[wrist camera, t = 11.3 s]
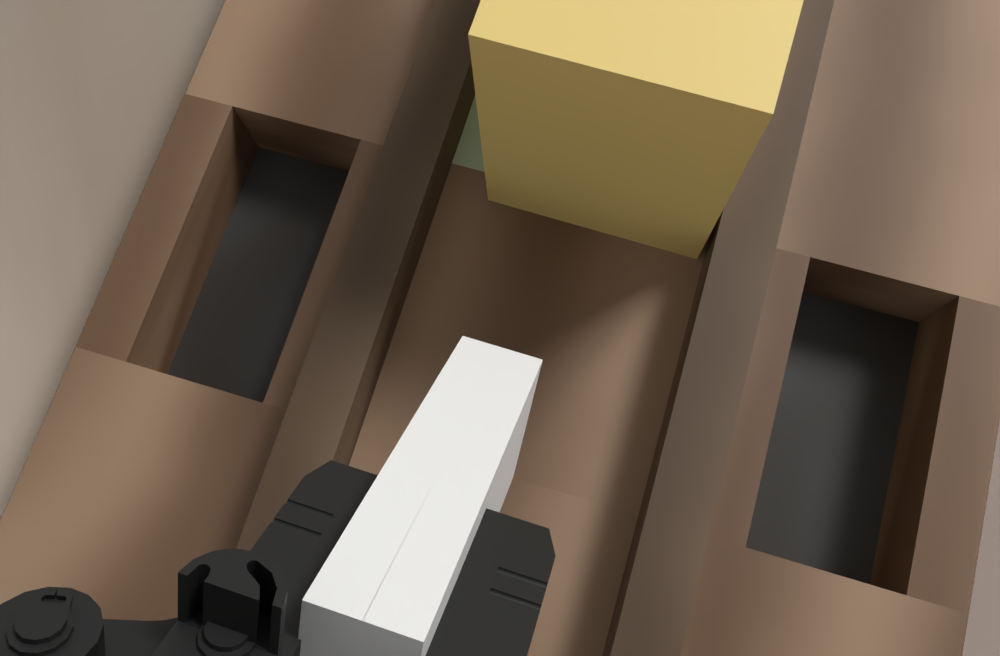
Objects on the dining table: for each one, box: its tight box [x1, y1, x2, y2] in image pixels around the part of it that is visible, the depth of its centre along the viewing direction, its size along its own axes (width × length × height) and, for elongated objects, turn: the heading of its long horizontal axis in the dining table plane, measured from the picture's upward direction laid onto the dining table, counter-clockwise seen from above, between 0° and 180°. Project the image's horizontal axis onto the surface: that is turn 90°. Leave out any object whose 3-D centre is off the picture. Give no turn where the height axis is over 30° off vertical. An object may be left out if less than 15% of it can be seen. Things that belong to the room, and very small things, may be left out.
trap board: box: [0, 0, 1000, 656], centre depth 25 cm, size 24×32×5 cm
